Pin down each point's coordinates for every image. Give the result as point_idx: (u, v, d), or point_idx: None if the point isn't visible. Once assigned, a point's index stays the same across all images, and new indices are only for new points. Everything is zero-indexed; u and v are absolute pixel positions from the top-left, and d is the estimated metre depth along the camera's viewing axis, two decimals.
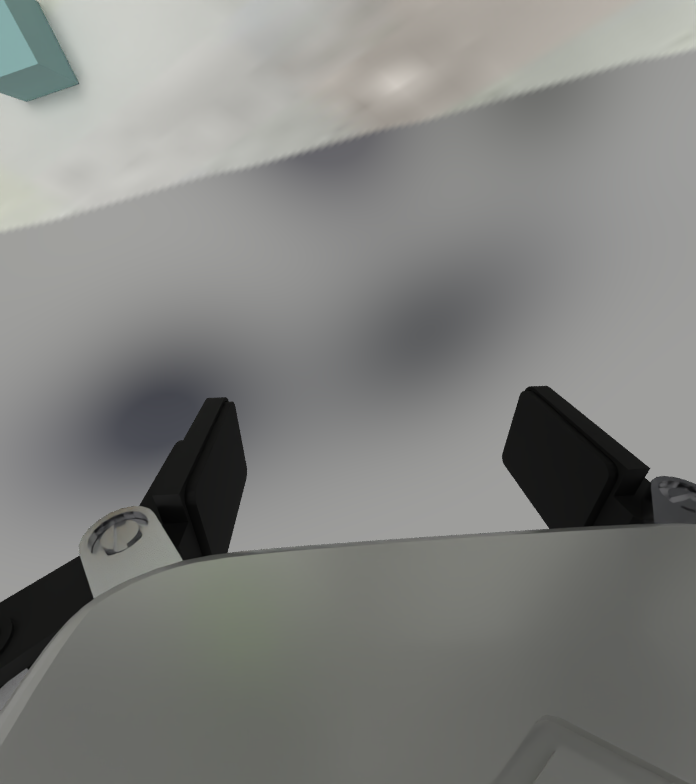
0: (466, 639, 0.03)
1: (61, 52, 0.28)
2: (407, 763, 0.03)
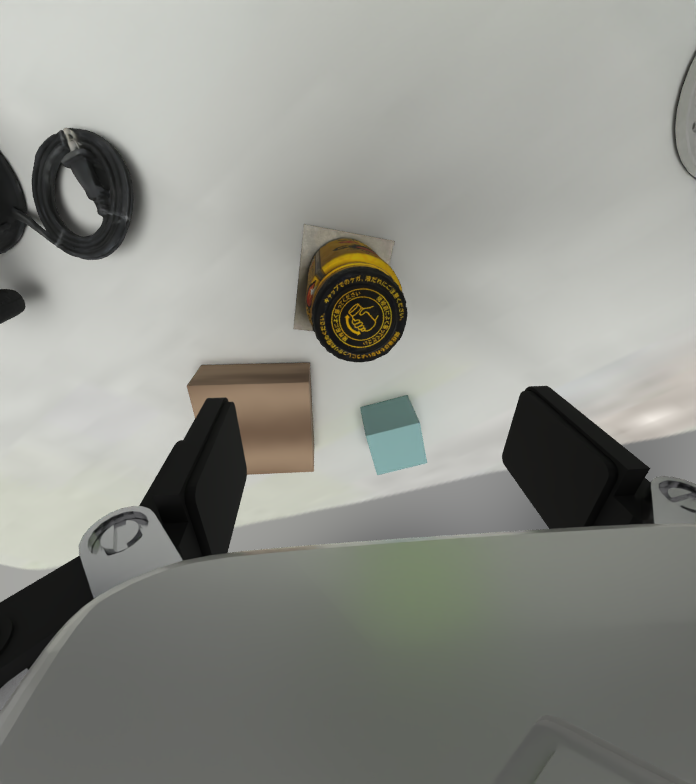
0: (466, 639, 0.03)
1: None
2: (407, 763, 0.03)
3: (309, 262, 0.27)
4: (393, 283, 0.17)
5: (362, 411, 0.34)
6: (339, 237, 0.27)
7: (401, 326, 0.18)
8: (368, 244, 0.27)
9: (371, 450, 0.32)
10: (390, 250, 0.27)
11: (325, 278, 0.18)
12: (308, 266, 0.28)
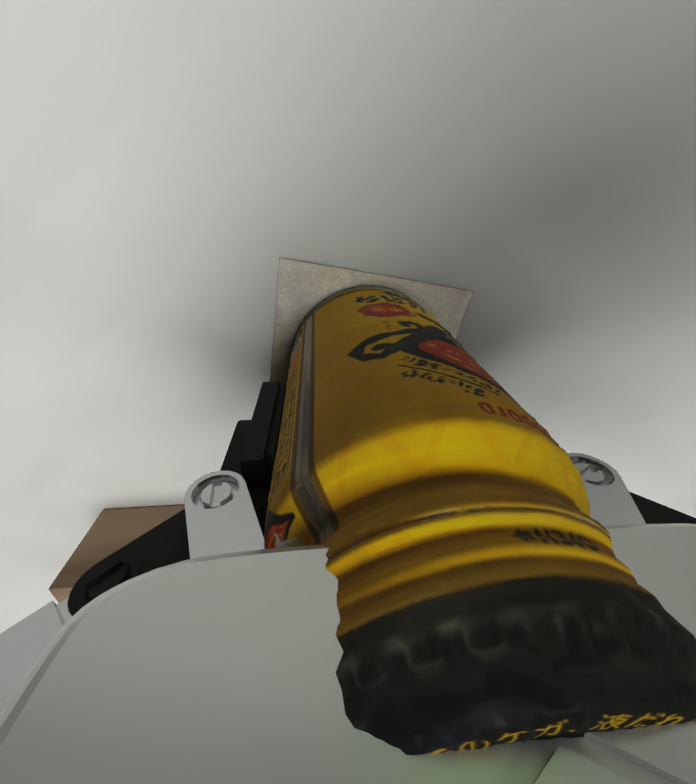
0: None
1: None
2: (407, 763, 0.03)
3: (293, 334, 0.13)
4: None
5: None
6: (357, 285, 0.12)
7: None
8: (418, 298, 0.13)
9: None
10: (463, 309, 0.13)
11: None
12: (291, 341, 0.13)
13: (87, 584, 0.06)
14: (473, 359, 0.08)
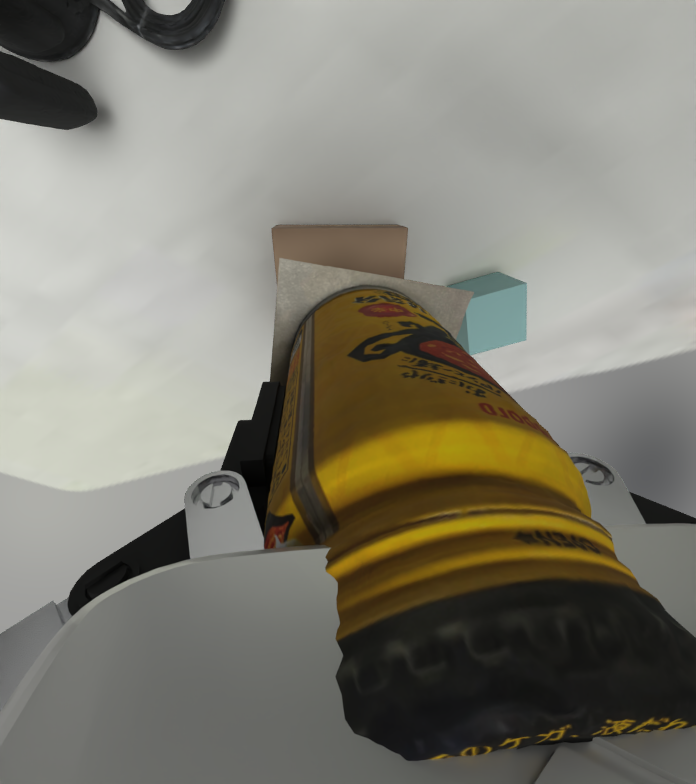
0: None
1: None
2: (407, 763, 0.03)
3: (293, 334, 0.13)
4: None
5: None
6: (357, 285, 0.12)
7: None
8: (418, 298, 0.13)
9: (468, 320, 0.28)
10: (463, 309, 0.13)
11: None
12: (291, 341, 0.13)
13: (86, 584, 0.06)
14: (474, 359, 0.08)
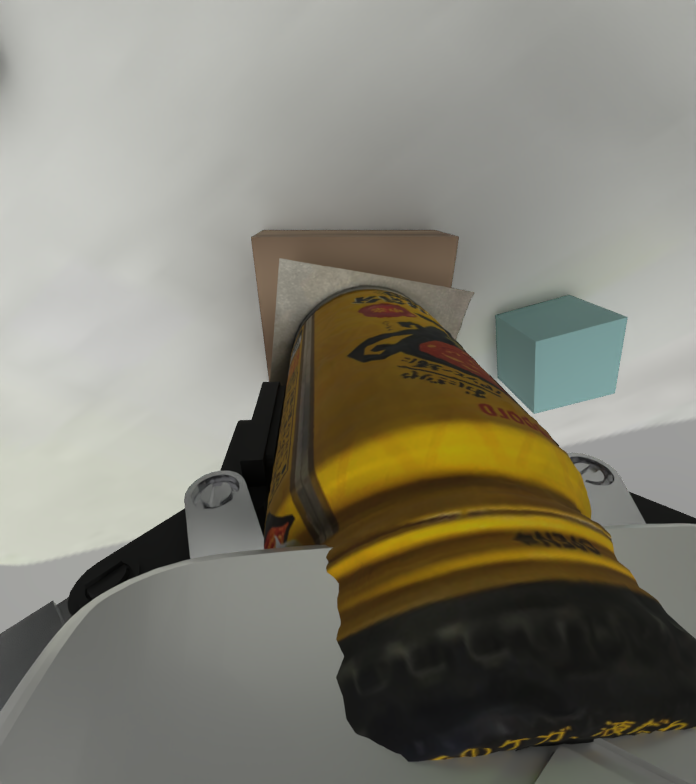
0: None
1: None
2: (407, 763, 0.03)
3: (293, 334, 0.13)
4: None
5: (503, 318, 0.22)
6: (357, 285, 0.12)
7: None
8: (418, 298, 0.13)
9: (537, 368, 0.20)
10: (463, 310, 0.13)
11: None
12: (291, 342, 0.13)
13: (87, 585, 0.06)
14: (473, 360, 0.08)
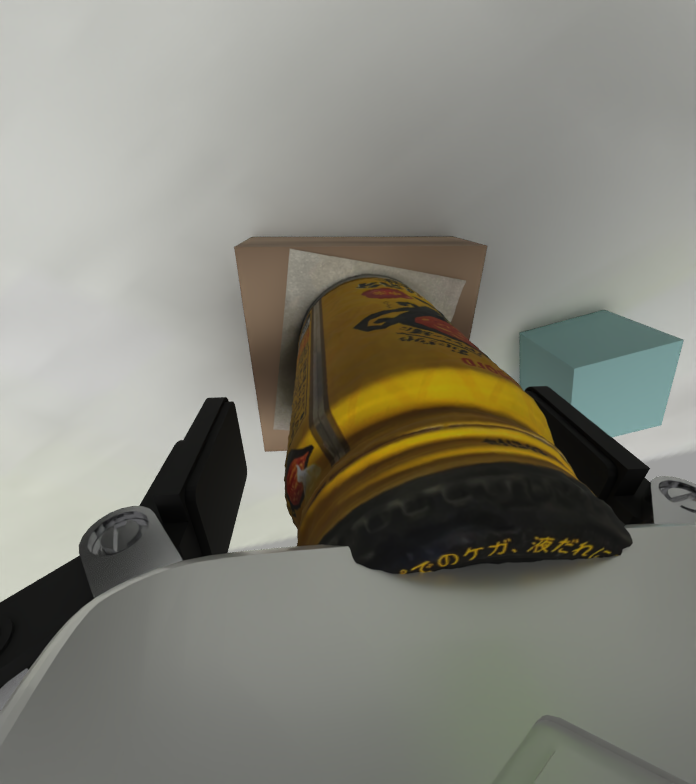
0: (466, 639, 0.03)
1: None
2: (407, 763, 0.03)
3: (301, 319, 0.14)
4: (627, 540, 0.04)
5: (529, 337, 0.19)
6: (360, 273, 0.14)
7: None
8: (415, 286, 0.14)
9: (573, 399, 0.17)
10: (456, 297, 0.14)
11: (346, 479, 0.05)
12: (299, 326, 0.14)
13: None
14: (462, 334, 0.09)
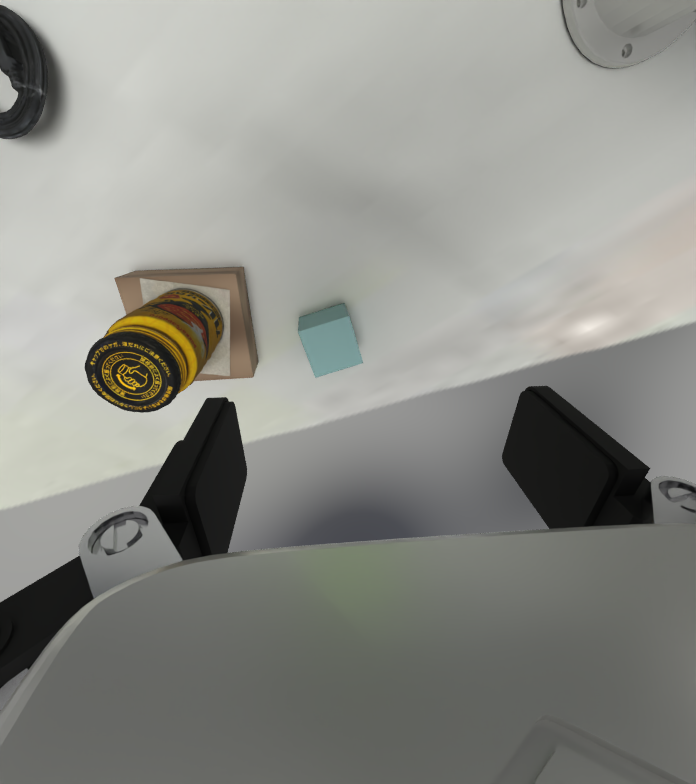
0: (466, 639, 0.03)
1: None
2: (407, 763, 0.03)
3: None
4: (152, 346, 0.20)
5: (300, 319, 0.35)
6: (176, 288, 0.29)
7: (171, 381, 0.21)
8: (206, 293, 0.30)
9: (305, 348, 0.32)
10: (228, 298, 0.30)
11: None
12: None
13: None
14: (186, 310, 0.25)
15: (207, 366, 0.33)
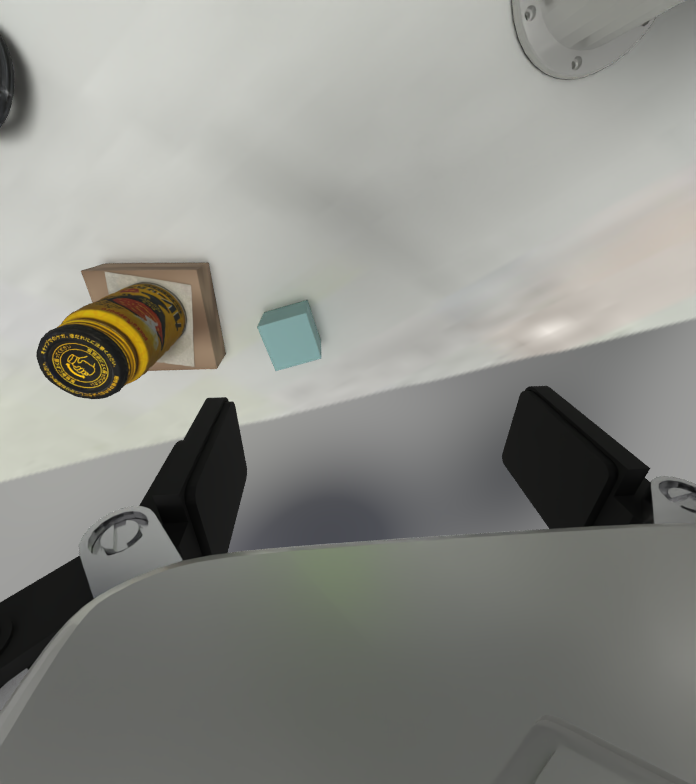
0: (466, 639, 0.03)
1: (315, 326, 0.38)
2: (407, 763, 0.03)
3: None
4: (97, 338, 0.21)
5: (264, 314, 0.36)
6: (140, 282, 0.31)
7: (117, 371, 0.22)
8: (168, 287, 0.31)
9: (265, 343, 0.34)
10: (190, 292, 0.32)
11: None
12: None
13: None
14: (142, 304, 0.27)
15: (172, 356, 0.34)
